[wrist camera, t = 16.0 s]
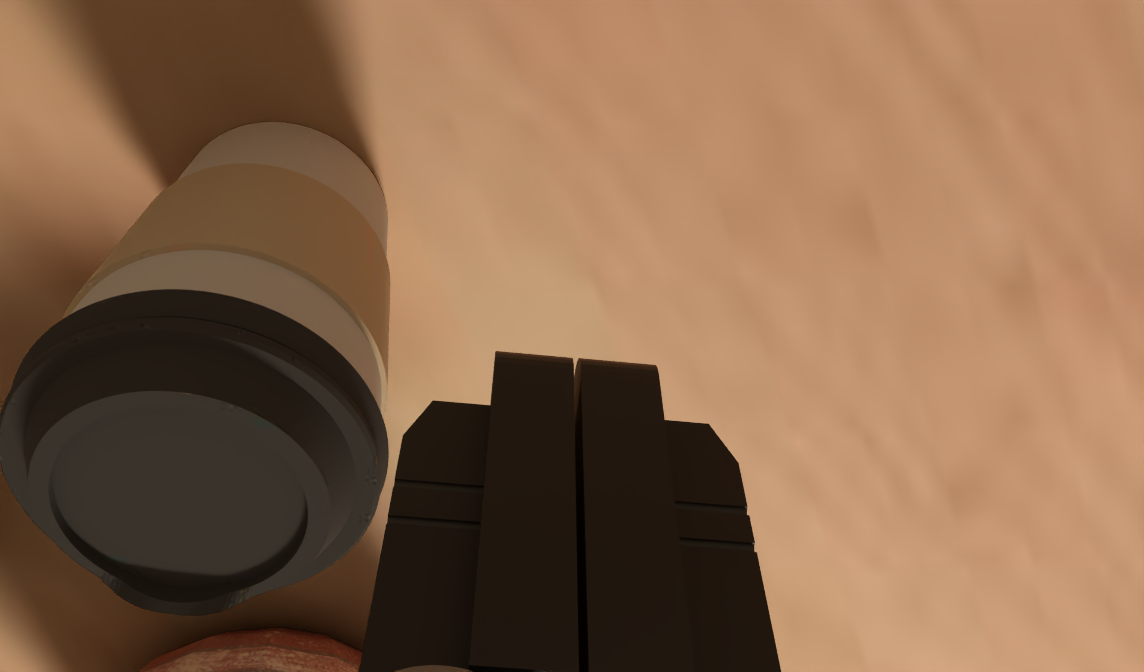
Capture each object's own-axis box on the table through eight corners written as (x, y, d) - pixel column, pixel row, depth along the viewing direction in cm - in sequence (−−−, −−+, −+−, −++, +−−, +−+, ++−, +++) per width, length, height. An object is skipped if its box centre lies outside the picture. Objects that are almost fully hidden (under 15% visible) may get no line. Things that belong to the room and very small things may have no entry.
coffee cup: (155, 59, 34) (-45, 317, 22) (441, 120, 36) (409, 392, 23) (143, 300, 39) (-26, 625, 26) (397, 344, 41) (350, 671, 28)
